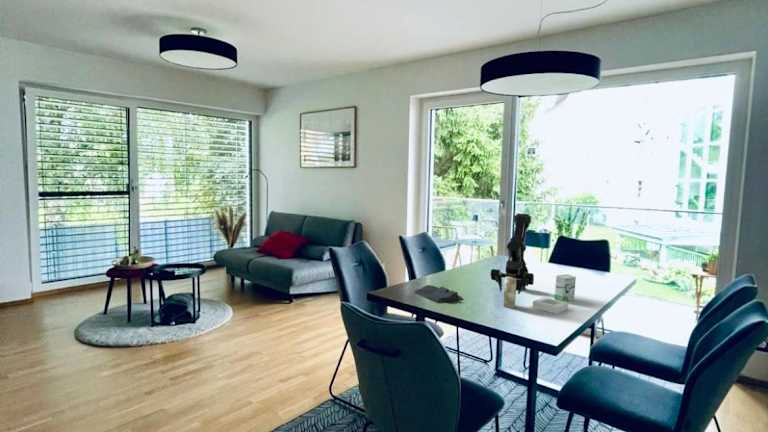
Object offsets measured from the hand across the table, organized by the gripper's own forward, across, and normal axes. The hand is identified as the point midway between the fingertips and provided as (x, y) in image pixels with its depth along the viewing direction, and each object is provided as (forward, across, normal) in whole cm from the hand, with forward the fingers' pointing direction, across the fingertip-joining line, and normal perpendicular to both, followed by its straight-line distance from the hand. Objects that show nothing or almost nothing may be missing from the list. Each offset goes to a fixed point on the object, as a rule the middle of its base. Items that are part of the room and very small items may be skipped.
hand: (509, 292), depth 190 cm
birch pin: (+4, 0, +6) cm, 7 cm away
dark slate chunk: (+4, -33, +6) cm, 34 cm away
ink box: (-13, +23, +23) cm, 35 cm away
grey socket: (0, +17, +10) cm, 20 cm away
